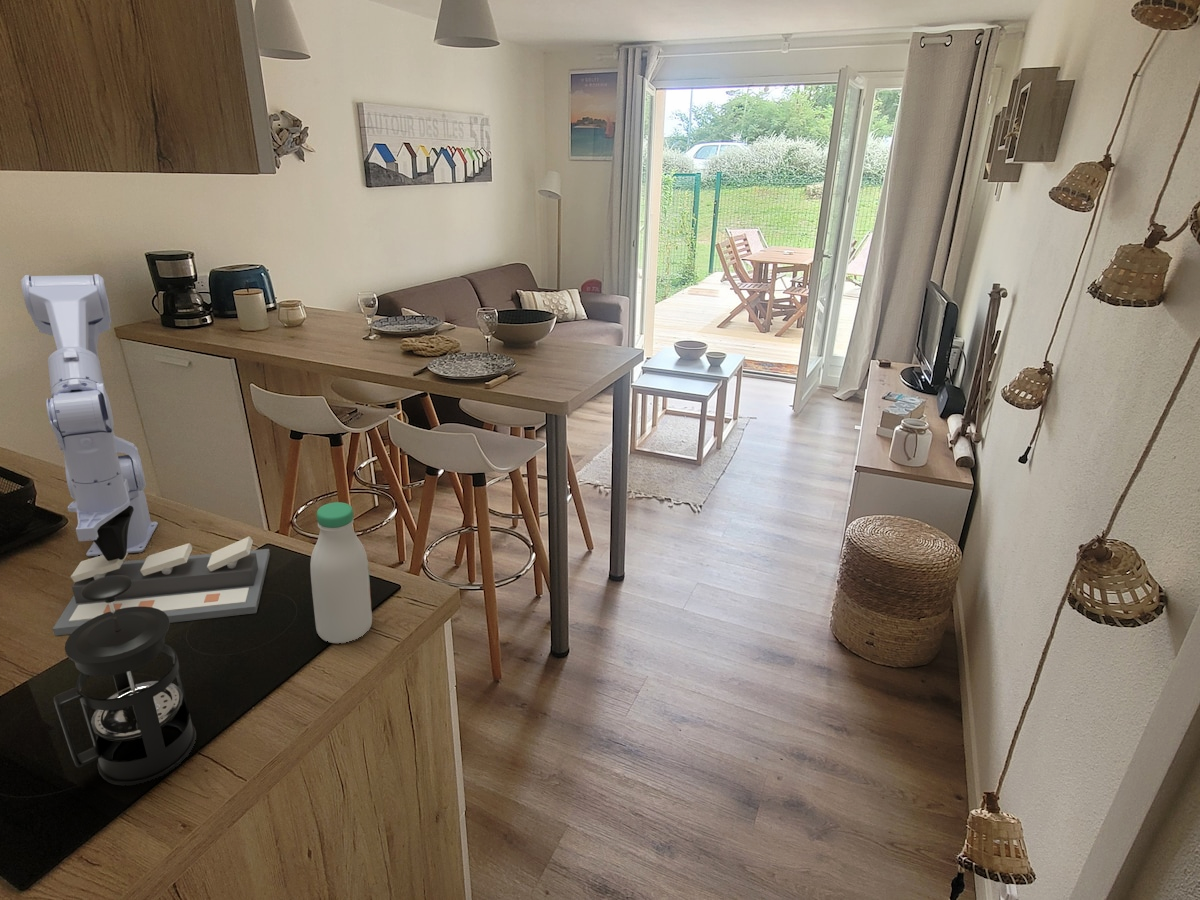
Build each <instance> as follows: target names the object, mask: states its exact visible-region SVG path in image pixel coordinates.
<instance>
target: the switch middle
mask: <svg viewBox="0 0 1200 900" xmlns="http://www.w3.org/2000/svg"><path fill="white" fill-rule="evenodd" d="M192 551H193V546H192V544H191V543H190V542H189V543H184V544H183V545H179V546H175V547H172V548H169V549H166V550H162V551H160V552H159V551H158V552H155V553H153V554H150V555H149V554H148V556H147V557H146V558H145V559H146V560H145V562H144V564H143V566H142V568H141V570H140V571H141V573H142V574H143V576H145V575H148V574H152V573H155V572H158V571H161V570H162V573H163V574H165V575H168V574H170V573H171V571H172V569H173V567H174V566H177V565H180V564H184V563H187V560H188V558H189V556H191V552H192Z"/></svg>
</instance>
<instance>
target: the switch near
mask: <svg viewBox="0 0 1200 900" xmlns="http://www.w3.org/2000/svg"><path fill="white" fill-rule="evenodd" d="M128 555H129V553H127V552H126V555H125V557H124V559H122V560H120V559H119V558H118V559H115V560H110V561H108V560H107V559H106V558H105V557H104V555H100V556H93V557H92V558H88V559H85V560H81V561H80V562H79V564H78V566H76V569H75V570H74V571H73V573H72V574H71V575H70V578H71V579H72V581H73V583H75V582H77V581H81V580H84V579H87V578H90V577H94V579H95V580H96V579H99V578H102V577H105V575H106V573H107V572H110V571H113V570H116V569H119V568H120V567H121V565H122V563H123V561H126V558H127V556H128Z"/></svg>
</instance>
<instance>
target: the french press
mask: <svg viewBox="0 0 1200 900" xmlns="http://www.w3.org/2000/svg"><path fill="white" fill-rule="evenodd" d="M131 585H132V580H131V579H130V578H129V577H127V576H124V575H111V576H105V577H102V578H99V579H96V580H94V581H92V582H90V583H88V584H87V585H86V586H85V587H84V588H83V589H82V591H81V596H82V597H83V598H85V599H87V600H92V601H99V600H104V601H105V602H106V603H109V606H110V610H111V611H110V612H107V613H104V614H102V615H99V616H97V617H95V618H93V619H91V620H89V621H87V622H86V623H84V624H82V625H81V626H79V627H78V628H77V629H76V630H75V631H73V633H72V634H69V636H68V637H67V639H66V641H65V644H64V652H65V655H66V657H67V658H68V659H69V660H71V661H72V662H74V665H75V668H76V669H77V670H78V671H79V672H80V673H79V674H78V676H77V678H76V680H75V681H76V683H75V687H73V688H70V689H67V690H65V691H63V692H60V693H58V694H56V695H54V696H53V703H54V706H55V709H56V712H57V715H58V719H59V721H60V724H61V728H62V730H63V731H62V732H63V734H64V737H65V740H66V743H67V746H68V749H69V752H70V755H71V758H72V760H73V763H74V765H75V767H76V768H81V767H83V766H86V765H88V764H91V763H92V762H94V761H97V769H98V773H99V775H100V776H101V778H102V780H104V781H106V782H108V783H110V784H112V785H115V786H123V787H126V786H135V785H136V784H137V785H139V784H138V783H142V784H145V783H144V782H146V783H147V781H149V782H151V780H152V779H153V780H152V781H155V780H156V779H155V778H157V779H159V778H160V777H159V776H161V777H163V776H165V775H167V774H169V773H170V772H171V770H172V771H173V770H174V769H176V768H177V767H179V766H180V765H181V764H182V763H183V762H184V761H185V760H186V759H187V758H188V757H189V755H190V754H191V753H192V751H193V749H194V747H195V745H196V741H197V731H196V728H195V726H194V725H193V723H192V718H191V714H190V709H189V705H188V701H187V697H186V696H187V695H186V691H185V686H184V682H183V678H182V672H181V668H180V664H179V659H178V654H177V652H176V650H175V649H174V648H173V646H171V645H169V644H168V643H165V642H166V641H165V640H166V635H167V634H168V632H169V628H170V626H171V625H170V624H171V623H170V621H169V618H168V616H167V615H166V614H165V613H164V612H163V611H161V610H159V609H156V608H152V607H144V606H143V607H128V608H122V609H117V610H115V608H114V604H113V601H115V599H116V598H115V597H116V596H118V595H120V594H122V593H124V592H126V591H127V590H128V589H129V588H130V587H131ZM160 653H162V654H165V655H168V656H169V657H171V661H172V667H170V670H169V671H168V672H167V673H166V674H165V675H164V676H163V677H162V678H161V679H159V680H151V681H145V682H141V683H135V678H134V675H133V674H134V673H133V670H136V669H138V668H141V667H143V666H144V665H146V664H147V663H151V661H152V660H154V659H155V658H156V657H158V656H159V654H160ZM109 676H113V677H112V678H113V681H114V684H115V688H116V691H117V692H115V693H114V694H112V695H110V696H109V697H107V698H104V699H103V698H102V699H101V698H95V697H90V696H88V695H86V694H84V693H83V692H82V689H83V687H84V685H85V683H86V681H87V680H88V679H89V678H90V677H109ZM175 679H176V681H177V685H176V684H174V683H172V682H173V681H174V680H175ZM77 700H79V702H80V705H81V707H82V710H83V711H82V712H83V715H84V718H85V721H86V724H87V727H88V731H89V734H90V738H91V741H92V743H93V747H91V748H88V749H87V750H84V751H82V752H80V753H77V751H76V747H75V744H74V742H73V739H72V735H71V732H70V729H69V726H68V722H67V719H66V716H65V713H64V710H63V707H64V706H66V705H68V704H71V703H72V702H75V701H77ZM87 707H88V708H90V709H93V710H95V711H94V713H93V715H92V717H90V715H89V712H88V708H87ZM165 726H170V727H175V728H177V729H178V730H179V731H180V733H179V735H178V736H177V737H176V738H175V739H173V741H171V742H170V743H168V745H165V739H164V736H163V732H162V728H163V727H165ZM141 738H142V742H143V746H144V750H145V756H143V757H139V758H135V759H130V760H115V759H113V757H114V754H115V752H116V750H117V749H118V748H119V746H120V745H121V744H122V743H123V742H127V741H128V742H129V741H134V740H138V739H141ZM195 740H196V741H195ZM194 744H195V745H194ZM193 746H194V747H193ZM192 748H193V749H192ZM191 750H192V751H191ZM190 752H191V753H190ZM189 753H190V754H189ZM186 757H187V758H186ZM185 758H186V759H185ZM184 759H185V760H184ZM183 760H184V761H183ZM182 761H183V762H182ZM181 762H182V763H181ZM179 764H180V765H179ZM175 767H176V768H175ZM169 771H170V772H169ZM164 774H165V775H164ZM158 777H159V778H158ZM125 785H126V786H125Z"/></svg>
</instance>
